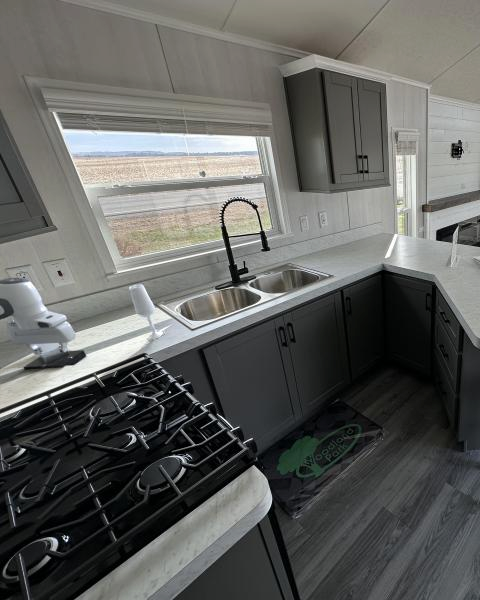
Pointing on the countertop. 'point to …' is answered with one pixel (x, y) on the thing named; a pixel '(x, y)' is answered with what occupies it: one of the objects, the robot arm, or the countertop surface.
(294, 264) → the countertop surface
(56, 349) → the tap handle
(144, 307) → the champagne flute
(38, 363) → the tap plate
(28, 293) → the robot arm
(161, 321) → the countertop surface
